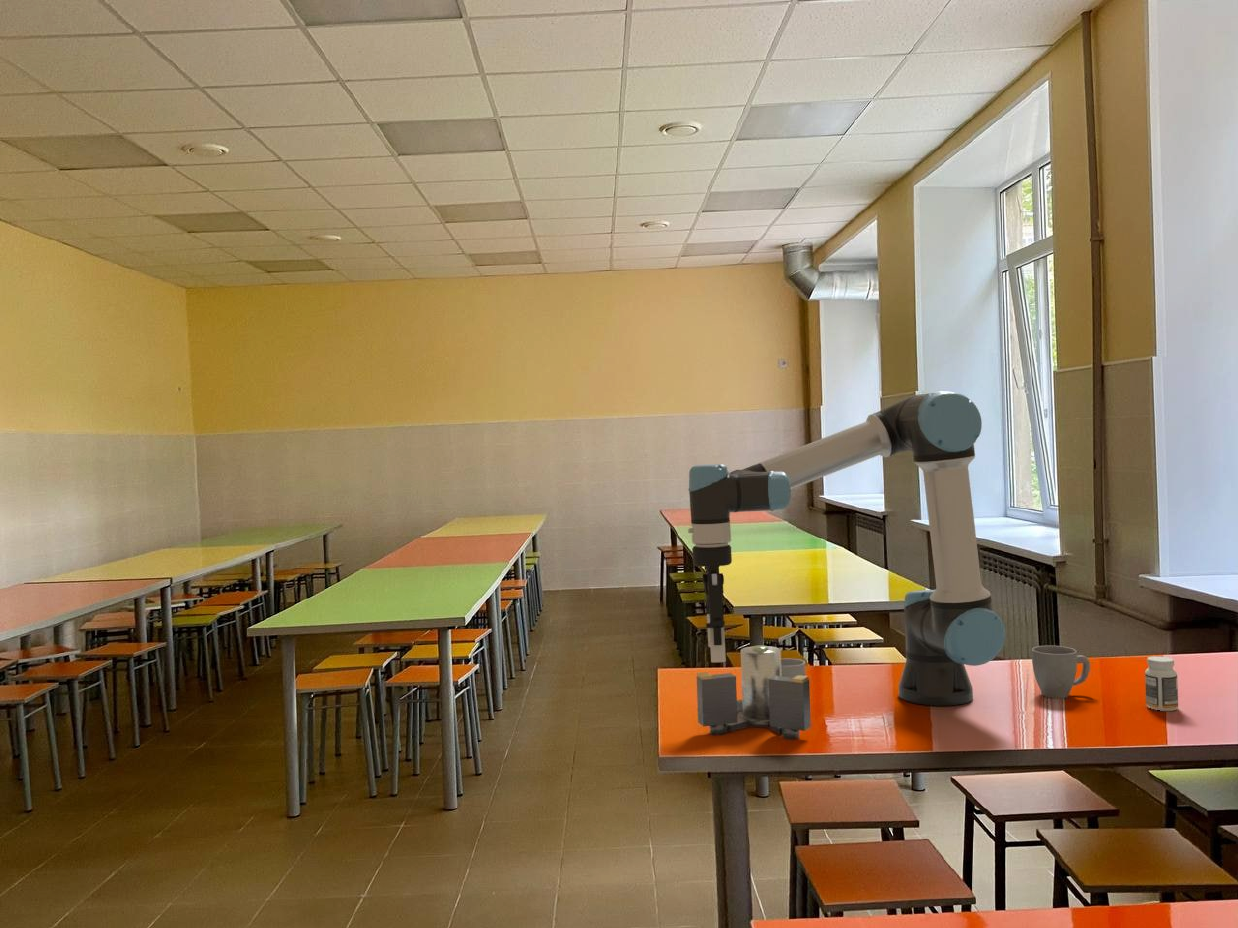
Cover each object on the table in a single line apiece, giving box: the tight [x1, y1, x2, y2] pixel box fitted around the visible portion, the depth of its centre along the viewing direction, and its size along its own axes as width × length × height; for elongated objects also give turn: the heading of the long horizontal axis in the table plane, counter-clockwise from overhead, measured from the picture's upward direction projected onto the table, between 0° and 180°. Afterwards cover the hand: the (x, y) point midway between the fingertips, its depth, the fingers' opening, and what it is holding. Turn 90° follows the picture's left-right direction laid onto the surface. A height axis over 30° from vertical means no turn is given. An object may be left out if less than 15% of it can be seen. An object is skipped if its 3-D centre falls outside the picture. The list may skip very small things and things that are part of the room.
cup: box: [781, 657, 806, 678], centre depth 210 cm, size 7×10×9 cm
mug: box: [1031, 645, 1091, 699], centre depth 210 cm, size 12×9×10 cm
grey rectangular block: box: [768, 675, 812, 740], centre depth 187 cm, size 7×3×12 cm, turn 57°
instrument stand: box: [726, 645, 782, 735], centre depth 198 cm, size 13×16×15 cm
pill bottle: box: [1144, 656, 1179, 712], centre depth 197 cm, size 6×6×10 cm
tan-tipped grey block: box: [696, 672, 738, 736], centre depth 191 cm, size 7×3×12 cm, turn 105°
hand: (716, 654), depth 191 cm, fingers open, 13 cm apart
